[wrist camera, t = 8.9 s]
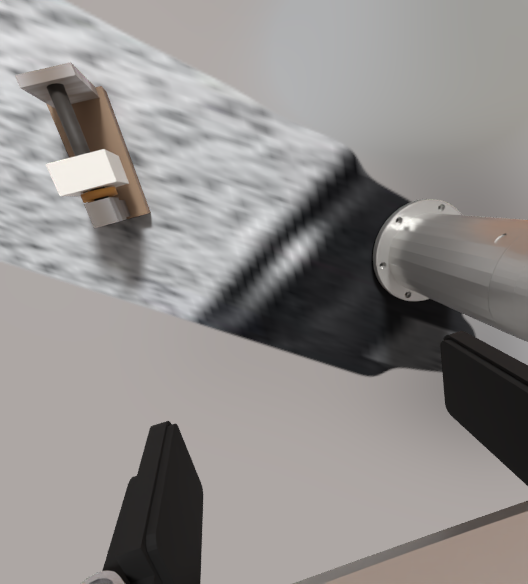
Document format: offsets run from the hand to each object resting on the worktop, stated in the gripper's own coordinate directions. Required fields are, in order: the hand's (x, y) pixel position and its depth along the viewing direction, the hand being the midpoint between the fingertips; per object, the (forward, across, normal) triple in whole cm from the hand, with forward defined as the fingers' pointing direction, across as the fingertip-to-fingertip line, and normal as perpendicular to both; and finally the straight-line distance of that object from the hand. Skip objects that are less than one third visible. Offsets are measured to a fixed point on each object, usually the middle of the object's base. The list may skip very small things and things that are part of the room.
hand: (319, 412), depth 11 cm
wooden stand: (+27, +11, -13) cm, 32 cm away
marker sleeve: (+24, +11, -12) cm, 28 cm away
